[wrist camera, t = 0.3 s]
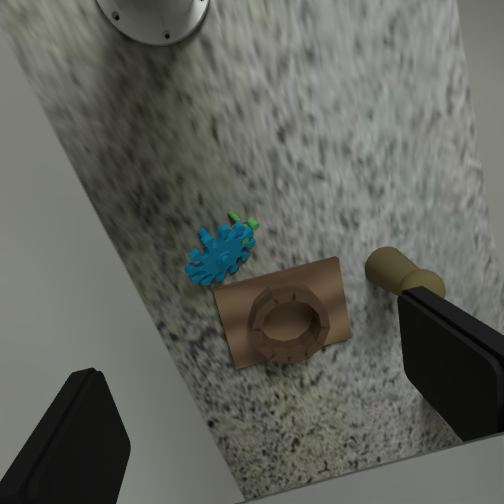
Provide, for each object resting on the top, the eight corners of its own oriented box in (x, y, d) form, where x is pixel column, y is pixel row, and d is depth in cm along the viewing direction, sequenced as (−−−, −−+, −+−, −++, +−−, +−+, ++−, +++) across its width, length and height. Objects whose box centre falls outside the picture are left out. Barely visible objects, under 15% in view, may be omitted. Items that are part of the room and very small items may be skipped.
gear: (210, 297, 47) (176, 273, 38) (189, 268, 49) (152, 239, 41) (272, 245, 47) (252, 209, 38) (247, 219, 50) (223, 180, 41)
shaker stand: (213, 288, 48) (213, 303, 43) (335, 256, 49) (348, 267, 44) (235, 364, 52) (237, 386, 47) (348, 333, 53) (362, 352, 48)
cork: (365, 288, 51) (405, 323, 40) (364, 249, 49) (405, 276, 39) (404, 281, 51) (453, 315, 41) (404, 243, 50) (456, 268, 39)
